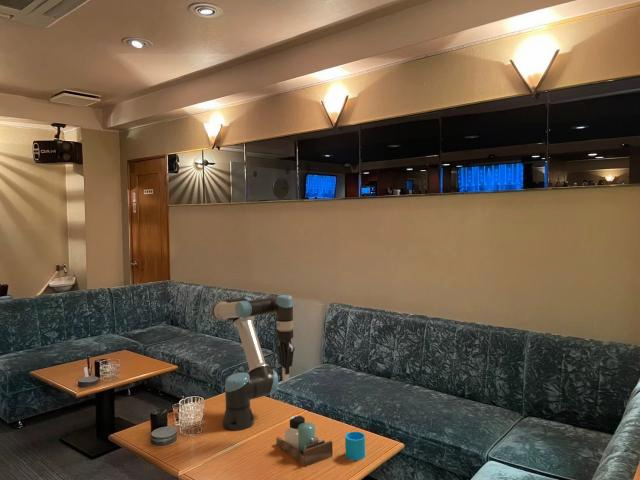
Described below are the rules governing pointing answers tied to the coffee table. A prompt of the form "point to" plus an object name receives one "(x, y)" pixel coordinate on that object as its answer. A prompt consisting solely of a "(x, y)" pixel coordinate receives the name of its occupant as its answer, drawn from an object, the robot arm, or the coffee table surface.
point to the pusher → (314, 443)
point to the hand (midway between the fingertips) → (286, 380)
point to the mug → (355, 445)
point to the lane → (308, 452)
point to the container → (294, 431)
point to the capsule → (305, 434)
